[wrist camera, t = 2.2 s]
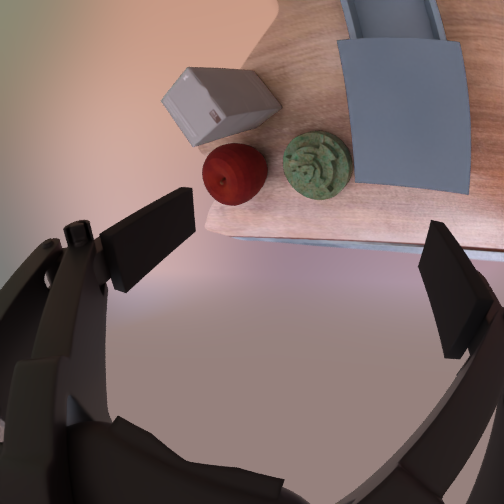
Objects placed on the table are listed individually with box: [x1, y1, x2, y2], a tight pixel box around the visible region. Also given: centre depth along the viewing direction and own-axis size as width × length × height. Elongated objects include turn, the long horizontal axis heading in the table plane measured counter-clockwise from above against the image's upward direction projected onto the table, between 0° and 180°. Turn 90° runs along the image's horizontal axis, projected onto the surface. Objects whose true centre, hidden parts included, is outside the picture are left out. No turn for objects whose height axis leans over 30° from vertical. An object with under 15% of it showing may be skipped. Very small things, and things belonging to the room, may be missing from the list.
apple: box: [202, 143, 268, 206], centre depth 42 cm, size 10×10×10 cm
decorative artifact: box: [283, 131, 353, 200], centre depth 36 cm, size 10×7×10 cm
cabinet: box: [337, 37, 471, 195], centre depth 25 cm, size 17×14×9 cm
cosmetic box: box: [161, 67, 282, 147], centre depth 33 cm, size 8×7×16 cm
